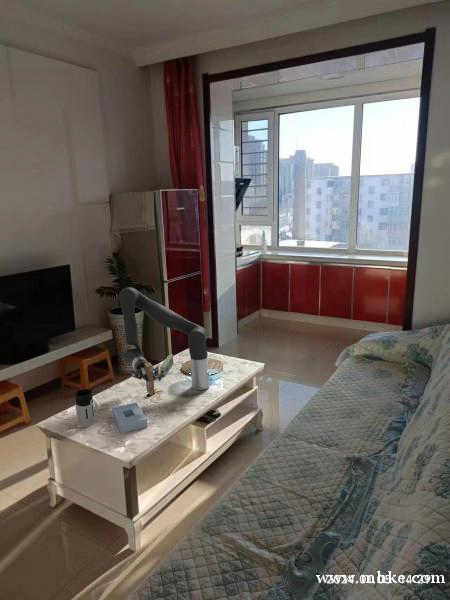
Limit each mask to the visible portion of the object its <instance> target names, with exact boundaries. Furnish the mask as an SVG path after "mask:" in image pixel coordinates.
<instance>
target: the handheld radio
mask: <svg viewBox="0 0 450 600" xmlns="http://www.w3.org/2000/svg"><path fill="white" fill-rule="evenodd" d="M173 365H175V364H174V355H173V354H168V355H167V356H166V358H165V359H164V361H162V363H161V365H160V366H159V373H160V376H159V378H158V380H159V381H161V380H162V379H163V378H165V377H166V376H167V375H168V373H169V371H170V370H171V368H172V367H173Z"/></svg>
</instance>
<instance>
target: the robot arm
mask: <svg viewBox="0 0 450 600" xmlns="http://www.w3.org/2000/svg"><path fill="white" fill-rule="evenodd" d="M118 298H119V304H120V308H121V311H122V317H123V327H124V341H125V344H126V345H127V346H134V347H135V348H131V349H130V348H128V349H126V350H124V351H123V353H122V359H123V361H124V362H125V363H126V364H127V365H129V366H131V367H132V368H133V371H132V372H131V377H132V378H135V379H137V380H144V381H145V382H146V381H147V382H148V381H149V378H148V376H147V375H146V374H145V363H149V362H148V360H147V358H145V357H144V352H143V350H142V346H141V343H140V339H139V338H140V337H139V327H138V322H137V319H136V312H135V308H136V309H139V310H141V311H142V312H143V313H145V314H146V315H147V316H148V317H149V318H151V319H152V320H153V321H154V322H155V323H157V324H159V325H161V326H163V327H165V328H168V329H171V330H175V331H179V332H181V333H183V334H185V335H186V336H188V337H187V338H188V339H187V340H188V352H189V357H190V359H189V360H191V388H192V389H193V390H195V391H204V390H208V389H210V376H209V372H208V358H209V356H208V351H207V338H208V334H209V333H208V332H207V330H206V328H204V327H203V326H202V325H199V324H196V323H194V322H191V321H190V320H188V319H186V318H185V317H183V316H181V315H180V314H178V313H177V312H175V311H173V310H171V309H170V308H168V307H167V306H165V305H162V303H161V304H160V303H159V302H156V301H154V300H152V299H150V298H149V297H147V296H146V295H145V294H143V293H141V292H140V291H138V290H137V289H136V288H134V287H132V286H131V287H125V288H123V289H121V290H120V292H119V294H118ZM159 374H160V366H156V367H153V380H154V381H155V380H156V379H157V377H158V375H159Z"/></svg>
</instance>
